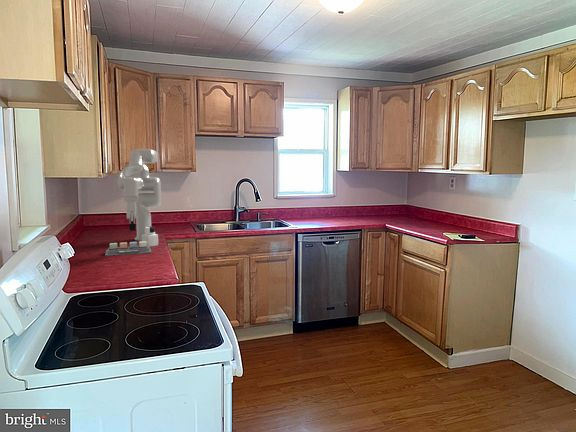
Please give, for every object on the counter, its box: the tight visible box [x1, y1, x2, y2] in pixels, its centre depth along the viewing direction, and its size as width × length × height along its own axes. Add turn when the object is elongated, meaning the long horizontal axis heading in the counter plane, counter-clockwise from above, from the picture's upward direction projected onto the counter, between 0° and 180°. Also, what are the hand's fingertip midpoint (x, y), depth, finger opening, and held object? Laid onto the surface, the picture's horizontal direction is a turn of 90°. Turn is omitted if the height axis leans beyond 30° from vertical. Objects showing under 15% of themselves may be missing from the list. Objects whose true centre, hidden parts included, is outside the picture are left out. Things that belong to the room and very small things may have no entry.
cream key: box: [138, 241, 147, 247], centre depth 249 cm, size 4×4×2 cm
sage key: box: [109, 242, 118, 249], centre depth 243 cm, size 4×4×2 cm
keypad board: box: [104, 245, 153, 257], centre depth 246 cm, size 14×25×2 cm, turn 111°
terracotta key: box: [119, 241, 128, 248], centre depth 245 cm, size 4×4×2 cm
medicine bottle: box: [142, 226, 159, 248], centre depth 264 cm, size 7×7×12 cm
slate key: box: [129, 241, 138, 248], centre depth 247 cm, size 4×4×2 cm
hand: (132, 230), depth 245 cm, fingers closed
